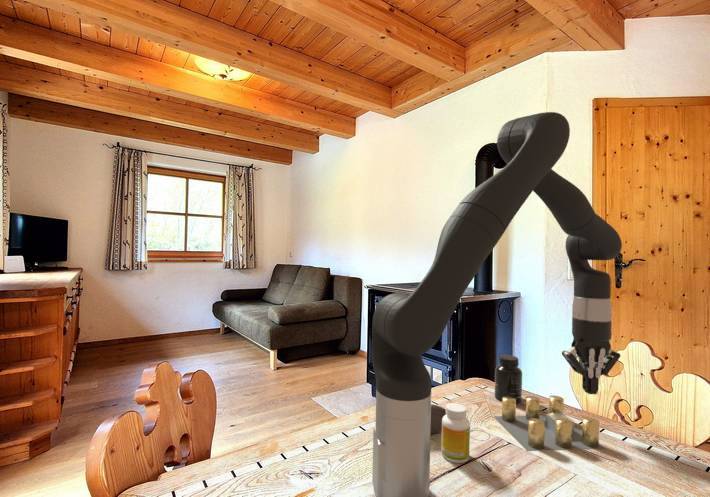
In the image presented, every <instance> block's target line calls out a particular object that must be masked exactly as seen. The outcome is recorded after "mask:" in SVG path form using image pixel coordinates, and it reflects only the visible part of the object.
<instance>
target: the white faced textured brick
mask: <svg viewBox="0 0 710 497" xmlns="http://www.w3.org/2000/svg"><path fill="white" fill-rule="evenodd" d="M545 415H546V427H547V428H548V429H549V430H551V431H552V432H553V433H554V434H555V433H556V418H566V419H568V420H570V421H572V435H574V426H575V421H574V420H573V419H571V418H570V417H569V416H567V415H566V414H564V412H563V413H550V414H549V413H545Z"/></svg>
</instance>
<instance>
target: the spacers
mask: <svg viewBox="0 0 710 497" xmlns="http://www.w3.org/2000/svg"><path fill="white" fill-rule="evenodd" d="M564 399H565V398H564V397H561V396H559V395H550V396H549V404H548V405H549V407H548V409H549V410H548V414H550V413H563V414H564V404H565V403H564V402H565V400H564ZM501 405H502V406H501V416H502V420H504V421H506V422H510V423H513V422H515V418H516V416H517V415H516V412H517V410H516V409H517V408H516V405H517V404H516V399H515V398H513V397H509V396H504V397H502V402H501ZM540 409H541V399H540V398H539V397H537V396H534V395H527V396H525V416H526V419H527V420H529V428H528V445H529V446H530V447H532V448H535V449H544V435H545V422H544V421H542V420H540V414H541V413H540V412H541V410H540ZM581 421H582V422H581V423H582V425H581V431H582V443H583V444H584V445H586V446H588V447H592V448H598V447H599V444H600V421H599V420H598V419H596V418H593V417H589V416H584V417H582V420H581ZM555 444H556V445H557V446H559V447H562V448H566V449H570V448H572V421H570V420H568V419H566V418H556V433H555Z"/></svg>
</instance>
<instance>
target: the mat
mask: <svg viewBox="0 0 710 497" xmlns="http://www.w3.org/2000/svg"><path fill="white" fill-rule="evenodd" d="M492 417H493V418H494V420H496V421H497V422H498V423H499V424H500V425H501V426H502V427H503V428H504V429H505V430H506V431H507V432H508V433H509V434H510V435H511V437H513V438H514V440H516V441H517V443H519V444H520V445H521V446H522V448H524V449H525V450H526V452H533V451H535V452H538V451H567V450H569V451H570V450H571V451H572V450H574V451H575V450H603V449H604V450H605V449H606V450H607V448H606V447H604V446H603V445H602V444H600V443H599V447H598V448H592V447H588V446H586V445H584V444H583V443H582V429H580V428H578V427H577V426H575V425H574V435H572V448H570V449H566V448H562V447H559V446H557V445H556V444H555V434H554V433H553V432H552V431H551V430H549V429H548V428H547V427H546V414H541V415H540V420H542V421H544V422H545V435H544V449H535V448H532V447H530V446H529V445H528V428H529V420H527V419H526V415H516V418H515V422H513V423H510V422H506V421H504V420H502V415H493V416H492Z"/></svg>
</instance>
